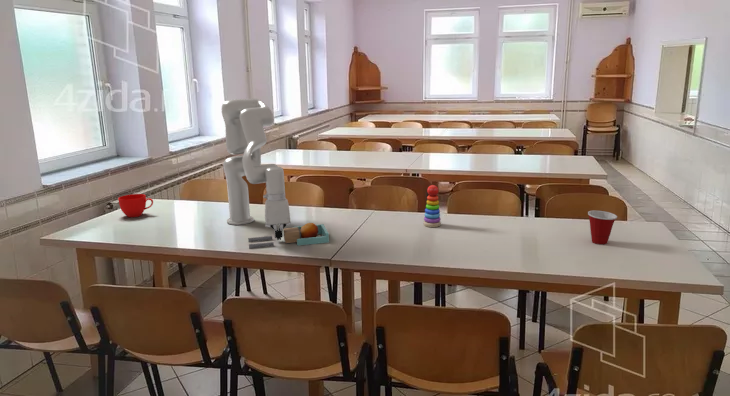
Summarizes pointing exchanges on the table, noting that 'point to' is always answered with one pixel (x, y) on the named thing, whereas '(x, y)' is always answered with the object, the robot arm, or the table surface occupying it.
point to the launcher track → (260, 243)
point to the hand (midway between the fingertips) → (278, 239)
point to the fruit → (309, 230)
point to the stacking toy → (432, 208)
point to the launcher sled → (292, 234)
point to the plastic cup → (601, 226)
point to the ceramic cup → (133, 204)
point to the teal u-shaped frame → (315, 240)
